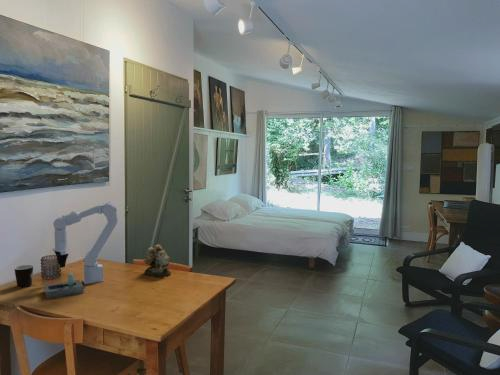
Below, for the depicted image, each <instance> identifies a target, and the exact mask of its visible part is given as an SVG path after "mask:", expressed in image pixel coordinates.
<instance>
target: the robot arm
mask: <svg viewBox="0 0 500 375" xmlns="http://www.w3.org/2000/svg"><path fill="white" fill-rule="evenodd" d="M95 214H98V215H102V214H103V215H104V217H105V218H106V221H107V223H106V225H105V226H104V228H103V230H102V231H101V233H100V235H99V236H98V238H97V239H96V241H95V242H94V245H93V246H92V248H91V249H90V250H89V251H88V252H87V253H86V254H85V256H84V258H83V263H84V264H83V278H82V282H83V283H84V284H85V285H88V284H95V283H101V282H104V266H103V264H102V263H98V261H97V260H98V258H99V255H100V253H101V251H102V249H103V248H104V246H105V244H106V243H107V241H108V239H109V238H110V236H111V235H112V233H113V231H114V229H115V228H116V226H117V224H118V222H119V221H118V210H117V207H116V205H115V203H113V202H111V201H110V202H105V203H102V204H98V205H94V206H92V207H90V208H88V209H85V210H82V211H80V212H78V211H70V213H67V214H66V215H65V214H63V215H61V216H59V217H57V218H56V219H55V220H54V221H53V222H52V224H53V227H54V248H52V251H53V252H54V253H55V256H56V260H57V264H58V265H59V267H60V268H65V267H66V264H67V259H68V257H69V253H66V252H67V250H68V239H67V238H68V237H67V236H68V235H67V226H68V227H69V226H71V225H73V224H77V223H80V222H81V221H82V219H83V218H86V217H89V216H92V215H95Z"/></svg>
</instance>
